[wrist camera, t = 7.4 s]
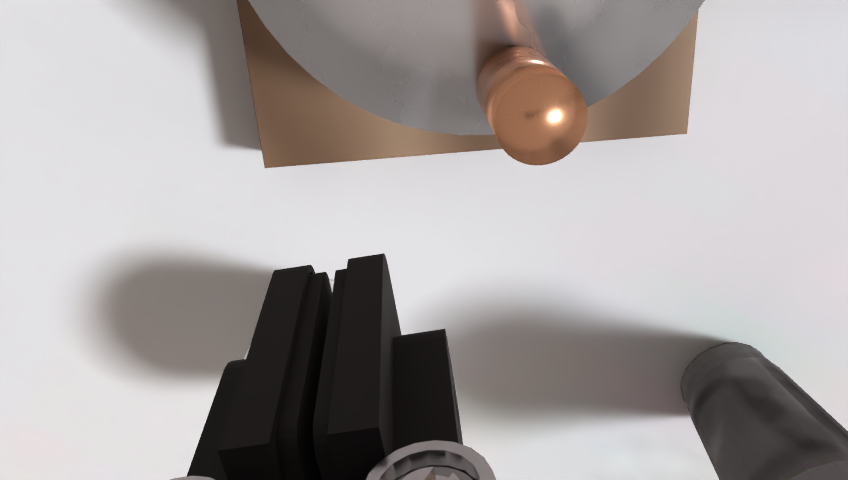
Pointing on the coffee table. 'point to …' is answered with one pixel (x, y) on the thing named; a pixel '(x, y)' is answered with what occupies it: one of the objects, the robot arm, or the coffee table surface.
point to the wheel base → (380, 138)
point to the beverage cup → (760, 419)
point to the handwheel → (479, 60)
